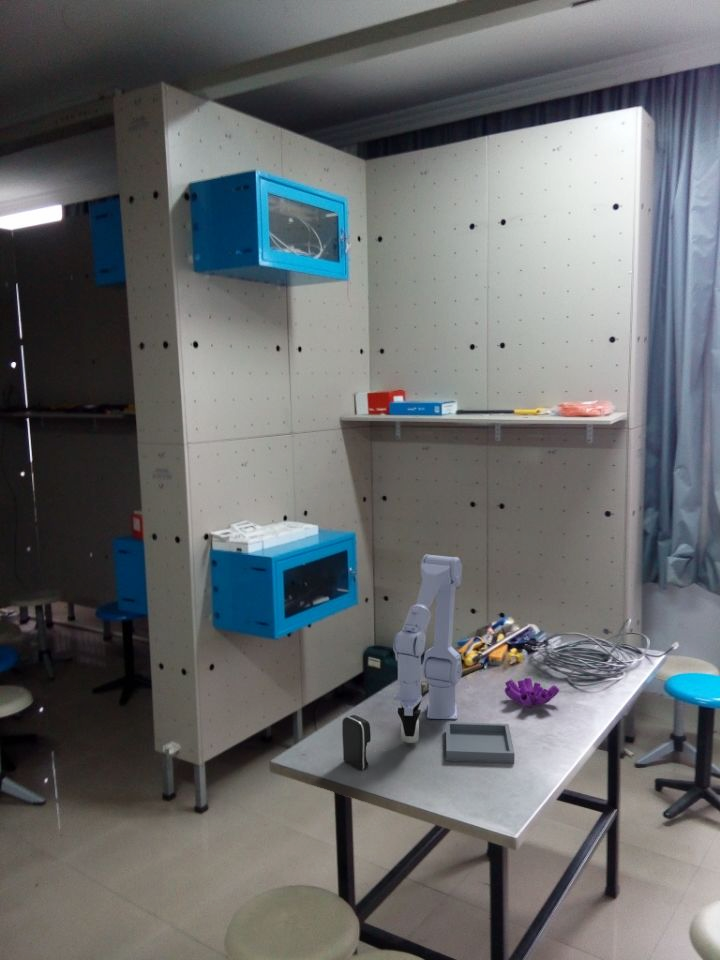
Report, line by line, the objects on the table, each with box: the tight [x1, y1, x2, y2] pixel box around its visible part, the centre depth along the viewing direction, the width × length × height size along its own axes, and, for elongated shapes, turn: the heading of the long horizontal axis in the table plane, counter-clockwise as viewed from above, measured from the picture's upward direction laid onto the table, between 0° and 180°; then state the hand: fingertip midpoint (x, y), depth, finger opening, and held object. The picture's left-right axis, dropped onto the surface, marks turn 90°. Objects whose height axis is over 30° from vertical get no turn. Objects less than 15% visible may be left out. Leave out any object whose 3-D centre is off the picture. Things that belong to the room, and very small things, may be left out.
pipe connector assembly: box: [503, 677, 560, 708], centre depth 213 cm, size 11×15×10 cm
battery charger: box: [341, 714, 372, 771], centre depth 180 cm, size 7×4×11 cm, turn 41°
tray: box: [445, 721, 515, 764], centre depth 188 cm, size 16×16×2 cm
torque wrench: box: [421, 663, 484, 696], centre depth 231 cm, size 5×35×5 cm
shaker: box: [400, 716, 420, 744], centre depth 190 cm, size 4×4×6 cm
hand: (410, 731), depth 190 cm, fingers closed on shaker, 4 cm apart
